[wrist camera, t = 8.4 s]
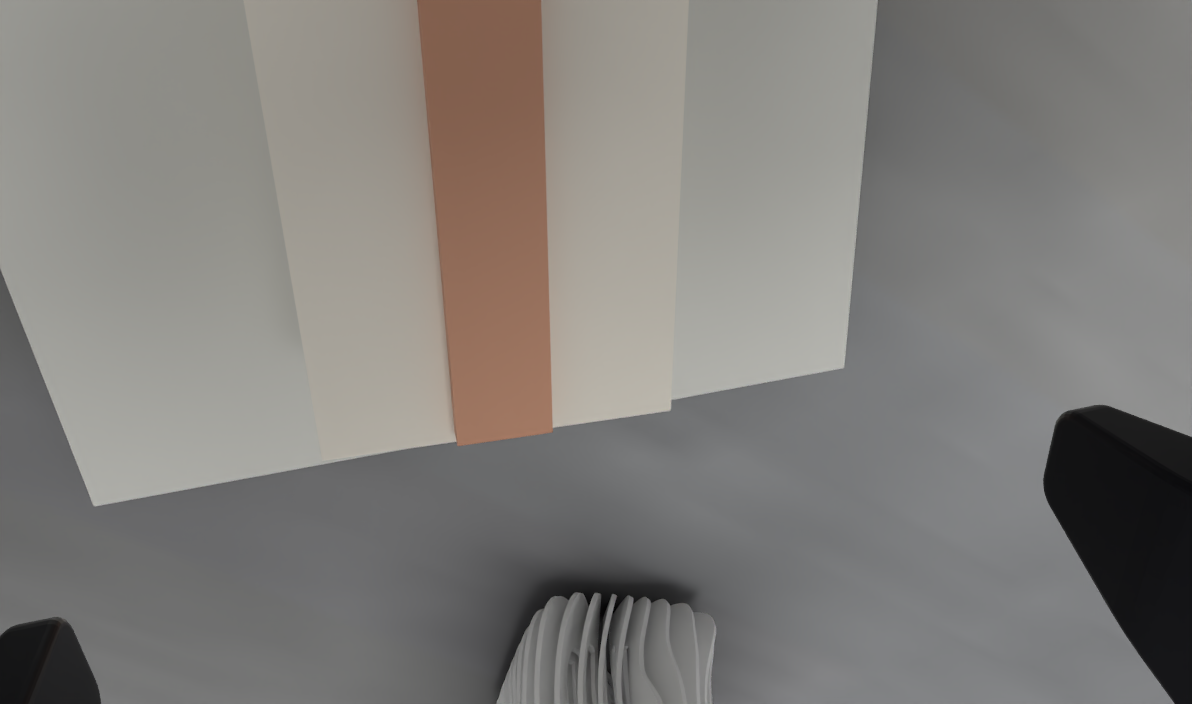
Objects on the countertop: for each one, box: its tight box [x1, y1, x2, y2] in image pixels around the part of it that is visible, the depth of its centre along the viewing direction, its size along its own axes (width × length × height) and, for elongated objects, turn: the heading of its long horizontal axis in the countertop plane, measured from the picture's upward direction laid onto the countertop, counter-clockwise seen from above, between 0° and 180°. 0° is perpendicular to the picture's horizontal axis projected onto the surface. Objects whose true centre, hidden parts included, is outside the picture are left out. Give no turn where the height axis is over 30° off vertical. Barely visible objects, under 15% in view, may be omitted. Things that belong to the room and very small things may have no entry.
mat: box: [0, 0, 878, 506], centre depth 19 cm, size 16×14×1 cm
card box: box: [243, 0, 689, 461], centre depth 17 cm, size 9×6×4 cm, turn 0°
